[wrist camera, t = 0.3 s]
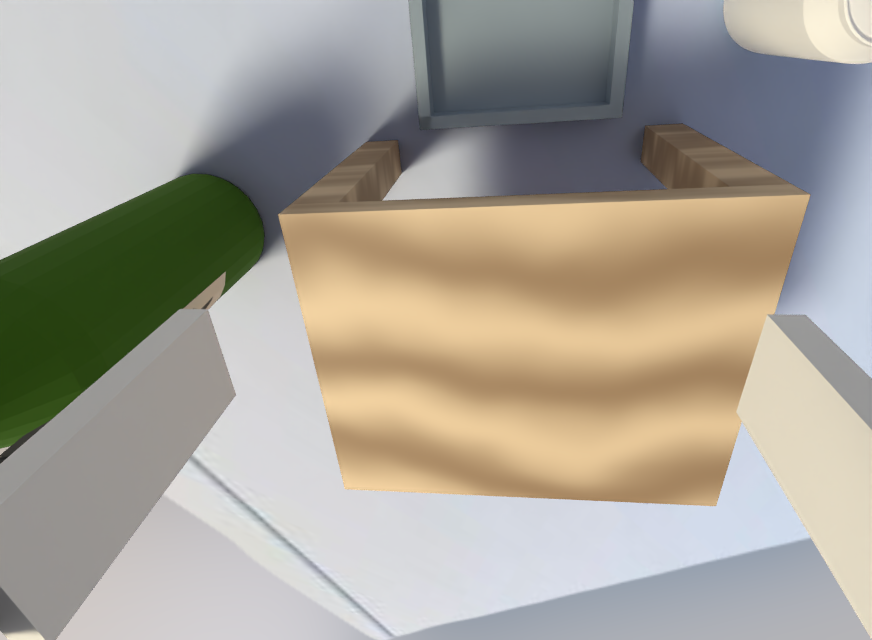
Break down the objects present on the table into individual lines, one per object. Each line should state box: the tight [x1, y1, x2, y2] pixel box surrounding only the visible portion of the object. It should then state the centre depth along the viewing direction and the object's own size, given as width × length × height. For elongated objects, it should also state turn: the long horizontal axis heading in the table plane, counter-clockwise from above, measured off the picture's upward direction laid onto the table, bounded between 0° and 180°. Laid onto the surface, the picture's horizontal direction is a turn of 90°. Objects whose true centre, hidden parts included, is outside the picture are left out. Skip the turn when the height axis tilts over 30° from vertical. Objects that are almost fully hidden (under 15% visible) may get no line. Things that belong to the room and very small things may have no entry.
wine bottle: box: [0, 174, 264, 448], centre depth 28 cm, size 9×9×32 cm
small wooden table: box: [278, 123, 810, 506], centre depth 32 cm, size 18×22×16 cm
